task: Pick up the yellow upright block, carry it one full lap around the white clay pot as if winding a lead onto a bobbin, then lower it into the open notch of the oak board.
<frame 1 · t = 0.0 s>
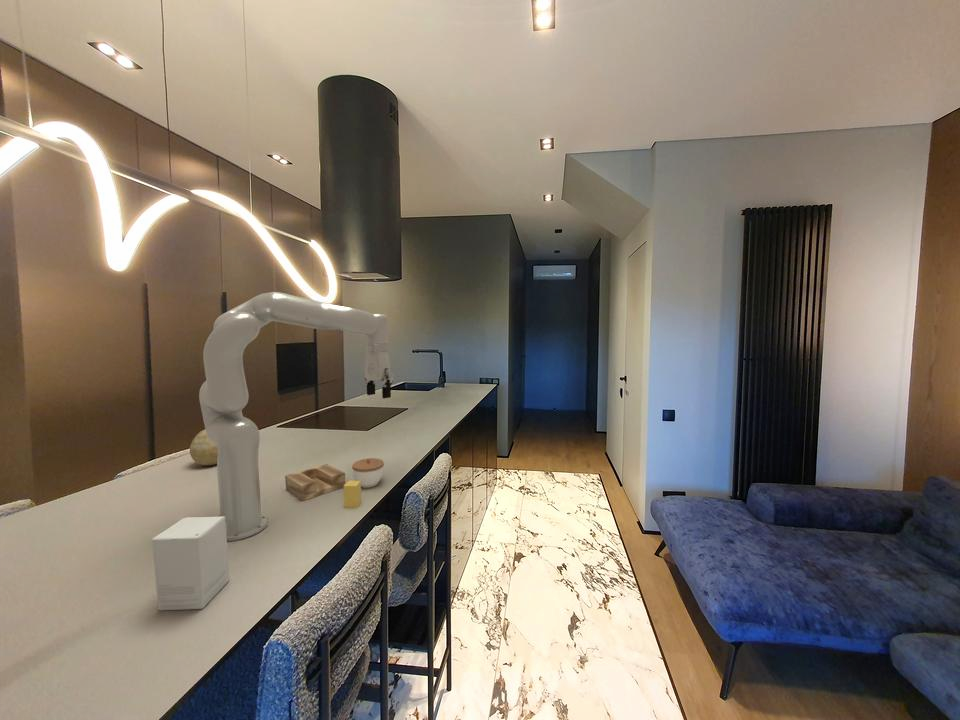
hand: (378, 396, 135), 31 cm above the kitchen island, fingers open, 9 cm apart
fossilized egg: (210, 465, 154), on the kitchen island
lidded jar: (368, 484, 134), on the kitchen island
notched board: (315, 488, 131), on the kitchen island
yellow upright block: (352, 504, 119), on the kitchen island
supplement box: (195, 595, 79), on the kitchen island
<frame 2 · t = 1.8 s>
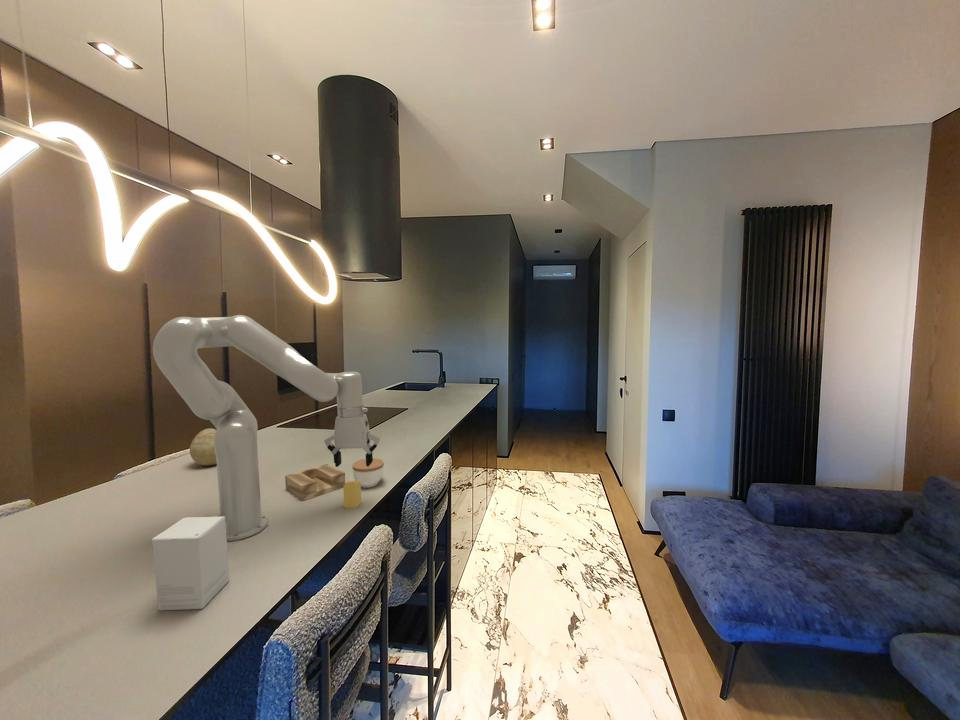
hand: (353, 465, 118), 13 cm above the kitchen island, fingers open, 9 cm apart
nothing on the kitchen island moved.
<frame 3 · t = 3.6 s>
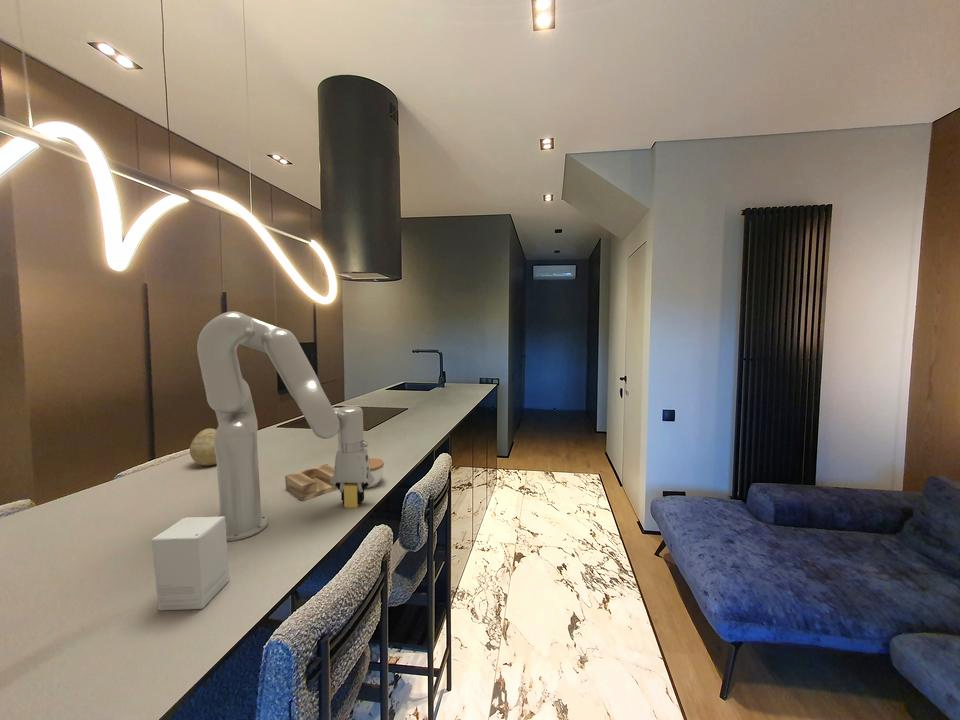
hand: (353, 502, 119), 1 cm above the kitchen island, fingers closed on yellow upright block, 4 cm apart
yellow upright block: (353, 504, 119), on the kitchen island, touching gripper
everything else where it was.
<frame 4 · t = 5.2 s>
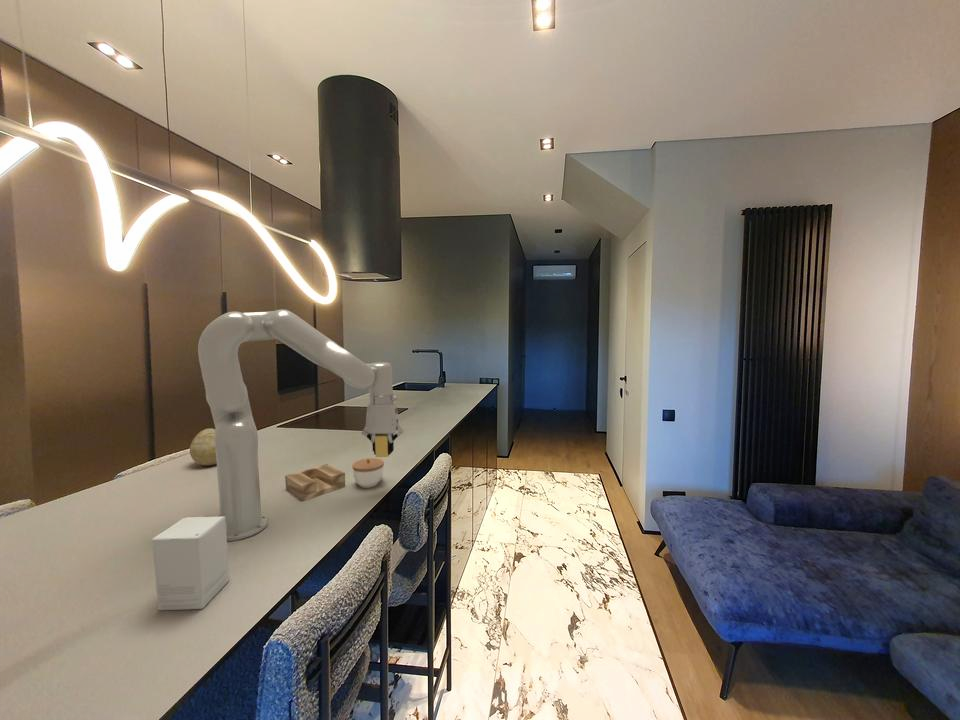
hand: (383, 452, 126), 14 cm above the kitchen island, fingers closed on yellow upright block, 4 cm apart
yellow upright block: (383, 455, 126), point 13 cm above the kitchen island, touching gripper
everything else where it was.
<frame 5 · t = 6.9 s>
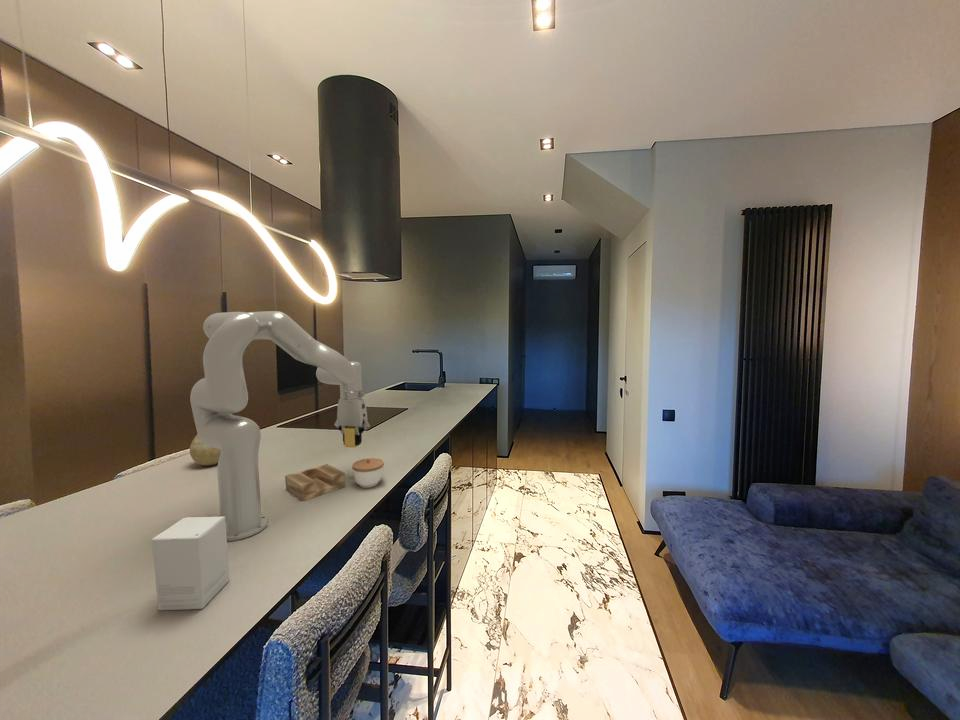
hand: (352, 443, 139), 13 cm above the kitchen island, fingers closed on yellow upright block, 4 cm apart
yellow upright block: (352, 445, 139), point 12 cm above the kitchen island, touching gripper
everything else where it was.
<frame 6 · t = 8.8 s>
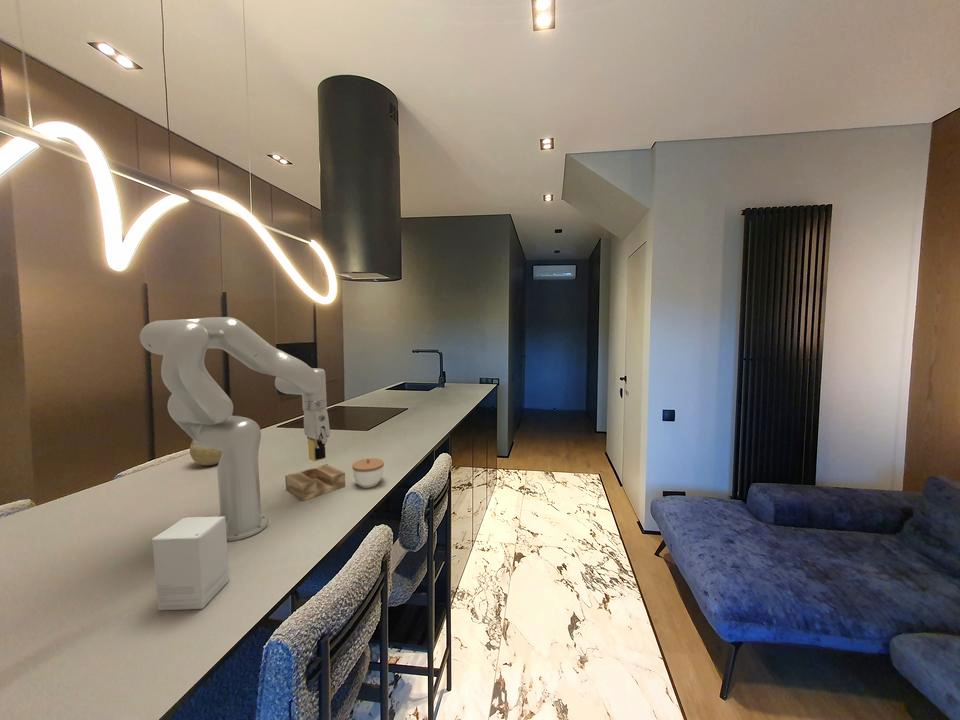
hand: (317, 456, 129), 12 cm above the kitchen island, fingers closed on yellow upright block, 4 cm apart
yellow upright block: (317, 458, 130), point 11 cm above the kitchen island, touching gripper
everything else where it was.
when the fingers open (4 cm above the kitchen island, at t = 10.4 s): yellow upright block drops 1 cm, resting on notched board.
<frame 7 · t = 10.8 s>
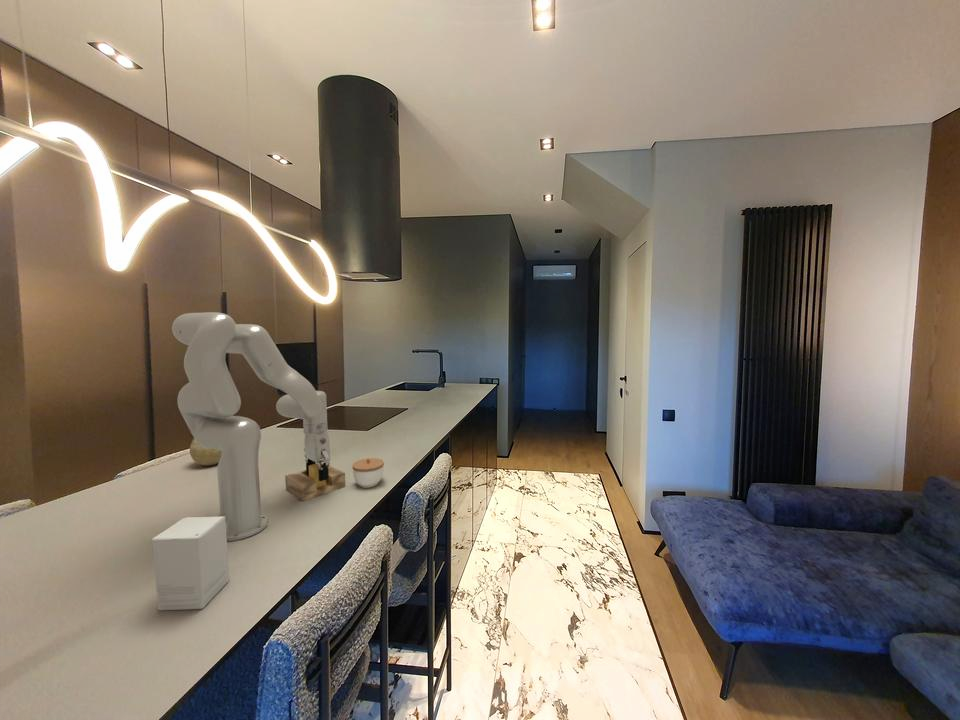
hand: (317, 476, 130), 5 cm above the kitchen island, fingers open, 8 cm apart
yellow upright block: (317, 485, 130), point 1 cm above the kitchen island, touching notched board
everything else where it was.
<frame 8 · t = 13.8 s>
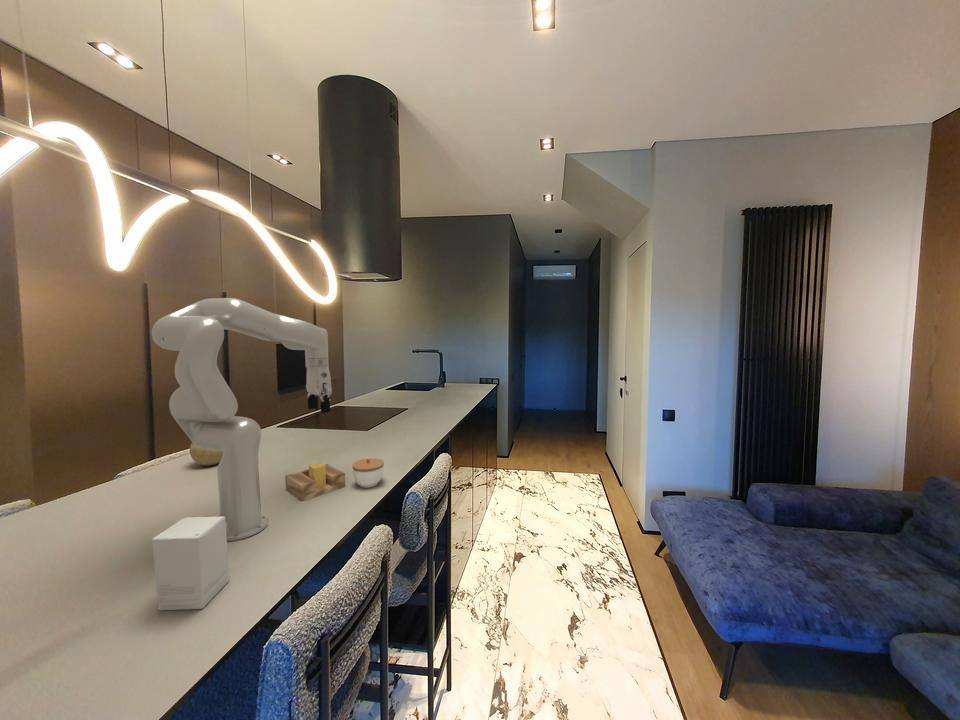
hand: (319, 410, 135), 26 cm above the kitchen island, fingers open, 9 cm apart
nothing on the kitchen island moved.
at the end: yellow upright block inside the target area on the notched board (0.8 cm from its centre), point 1.5 cm above the notched board's base; the gripper is holding nothing; lidded jar moved 0.2 cm from its start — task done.
